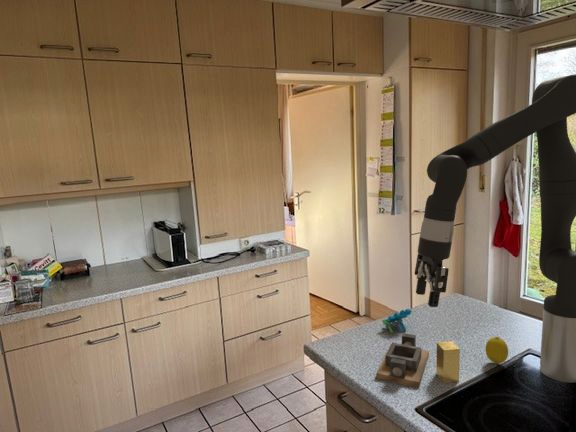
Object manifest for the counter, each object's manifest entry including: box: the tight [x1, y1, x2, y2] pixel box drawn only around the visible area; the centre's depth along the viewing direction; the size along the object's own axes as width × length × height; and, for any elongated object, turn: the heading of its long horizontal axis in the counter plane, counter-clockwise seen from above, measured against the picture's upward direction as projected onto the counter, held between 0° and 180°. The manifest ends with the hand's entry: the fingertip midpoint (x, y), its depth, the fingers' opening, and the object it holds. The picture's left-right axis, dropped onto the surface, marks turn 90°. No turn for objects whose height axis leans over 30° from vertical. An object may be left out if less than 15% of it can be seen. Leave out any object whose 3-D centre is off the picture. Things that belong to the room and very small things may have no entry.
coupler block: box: [435, 340, 461, 383], centre depth 105 cm, size 4×4×9 cm
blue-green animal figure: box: [382, 308, 413, 334], centre depth 134 cm, size 11×6×10 cm
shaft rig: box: [375, 332, 430, 388], centre depth 111 cm, size 11×17×6 cm, turn 153°
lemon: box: [485, 336, 509, 365], centre depth 110 cm, size 6×6×8 cm
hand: (426, 300), depth 101 cm, fingers open, 8 cm apart
